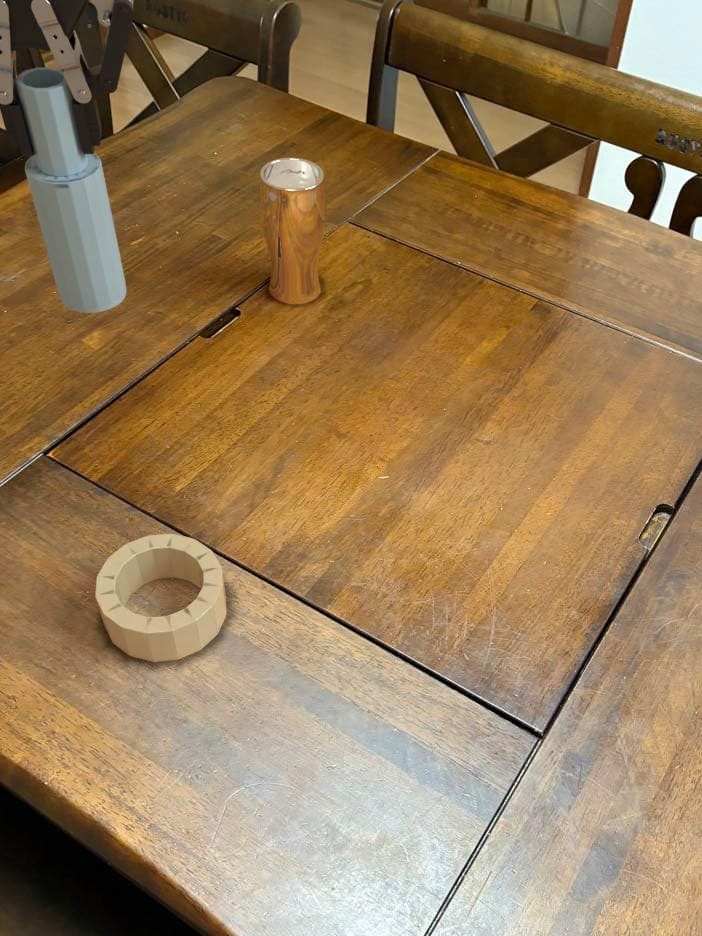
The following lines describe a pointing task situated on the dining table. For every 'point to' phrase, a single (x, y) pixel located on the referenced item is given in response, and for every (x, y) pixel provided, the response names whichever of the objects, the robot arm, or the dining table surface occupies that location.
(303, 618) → the dining table surface
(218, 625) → the ring
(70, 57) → the robot arm
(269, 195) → the beer glass
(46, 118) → the bottle
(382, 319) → the dining table surface
